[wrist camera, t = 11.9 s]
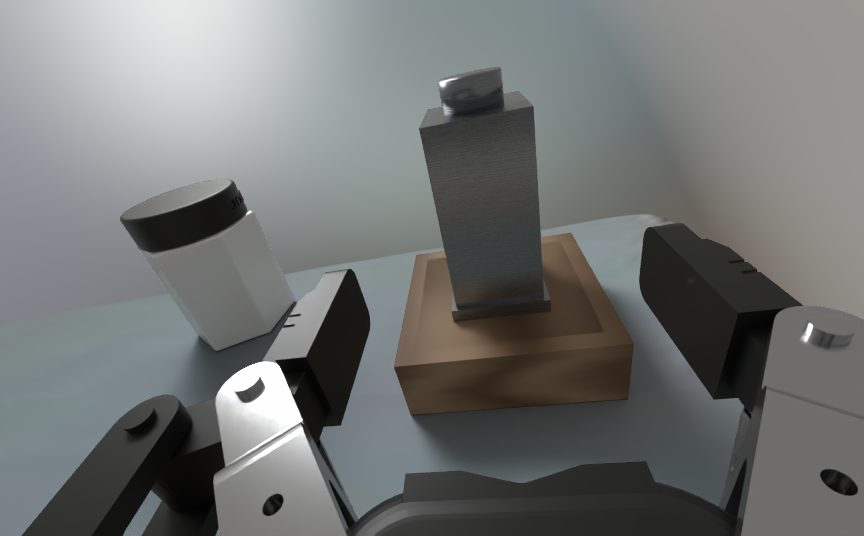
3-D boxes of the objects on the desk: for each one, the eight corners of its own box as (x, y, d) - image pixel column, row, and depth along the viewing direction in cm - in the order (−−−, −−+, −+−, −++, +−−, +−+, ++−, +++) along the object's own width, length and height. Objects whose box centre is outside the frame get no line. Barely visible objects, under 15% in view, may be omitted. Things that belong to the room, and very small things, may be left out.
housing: (453, 322, 22) (404, 94, 16) (455, 271, 27) (417, 81, 21) (551, 311, 21) (540, 65, 15) (534, 260, 26) (521, 58, 20)
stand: (410, 415, 22) (394, 366, 20) (426, 295, 32) (416, 254, 30) (627, 398, 20) (633, 343, 18) (571, 276, 30) (571, 232, 28)
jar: (310, 305, 34) (253, 180, 28) (225, 363, 30) (135, 228, 24) (265, 283, 40) (210, 175, 34) (188, 328, 35) (107, 212, 29)
